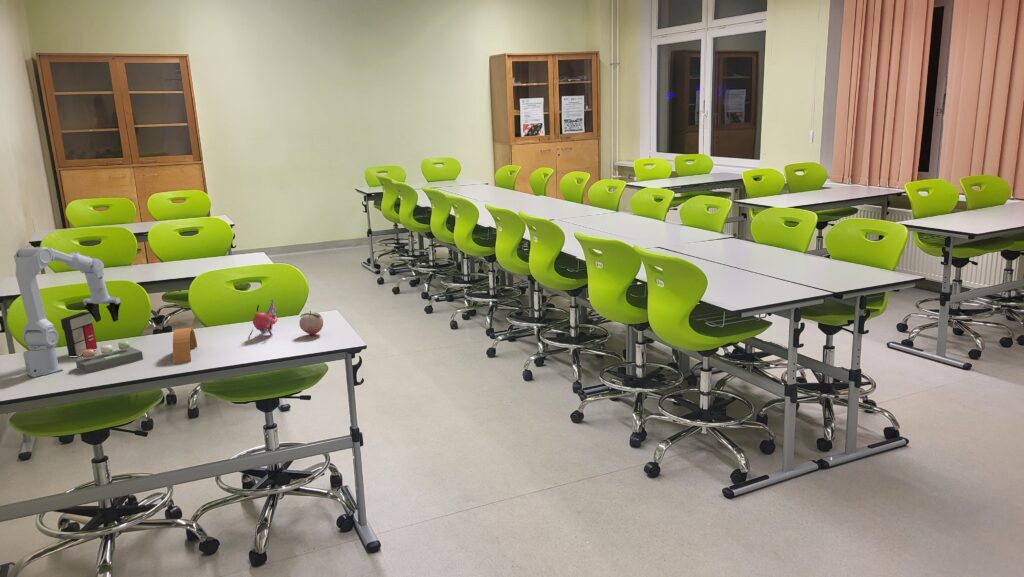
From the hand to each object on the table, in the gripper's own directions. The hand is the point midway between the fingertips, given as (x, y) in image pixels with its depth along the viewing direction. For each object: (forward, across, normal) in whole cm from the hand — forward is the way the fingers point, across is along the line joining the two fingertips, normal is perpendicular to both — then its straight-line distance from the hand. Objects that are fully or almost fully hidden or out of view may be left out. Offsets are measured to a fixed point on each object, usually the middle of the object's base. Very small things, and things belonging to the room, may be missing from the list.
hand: (107, 320), depth 287 cm
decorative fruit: (+13, -77, -14) cm, 80 cm away
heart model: (+13, -56, -14) cm, 59 cm away
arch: (+10, -39, +12) cm, 42 cm away
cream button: (+3, -15, +21) cm, 26 cm away
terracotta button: (+3, -11, +26) cm, 29 cm away
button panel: (+7, -16, +22) cm, 29 cm away
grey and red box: (+9, +5, +11) cm, 15 cm away
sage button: (+4, -18, +16) cm, 25 cm away
